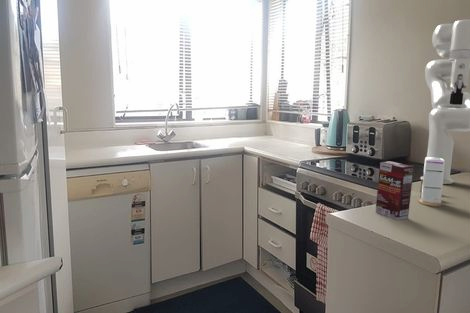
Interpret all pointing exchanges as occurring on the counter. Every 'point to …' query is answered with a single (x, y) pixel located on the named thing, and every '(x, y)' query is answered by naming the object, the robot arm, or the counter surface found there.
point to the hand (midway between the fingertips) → (455, 104)
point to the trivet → (430, 203)
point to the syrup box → (432, 179)
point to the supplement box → (394, 190)
